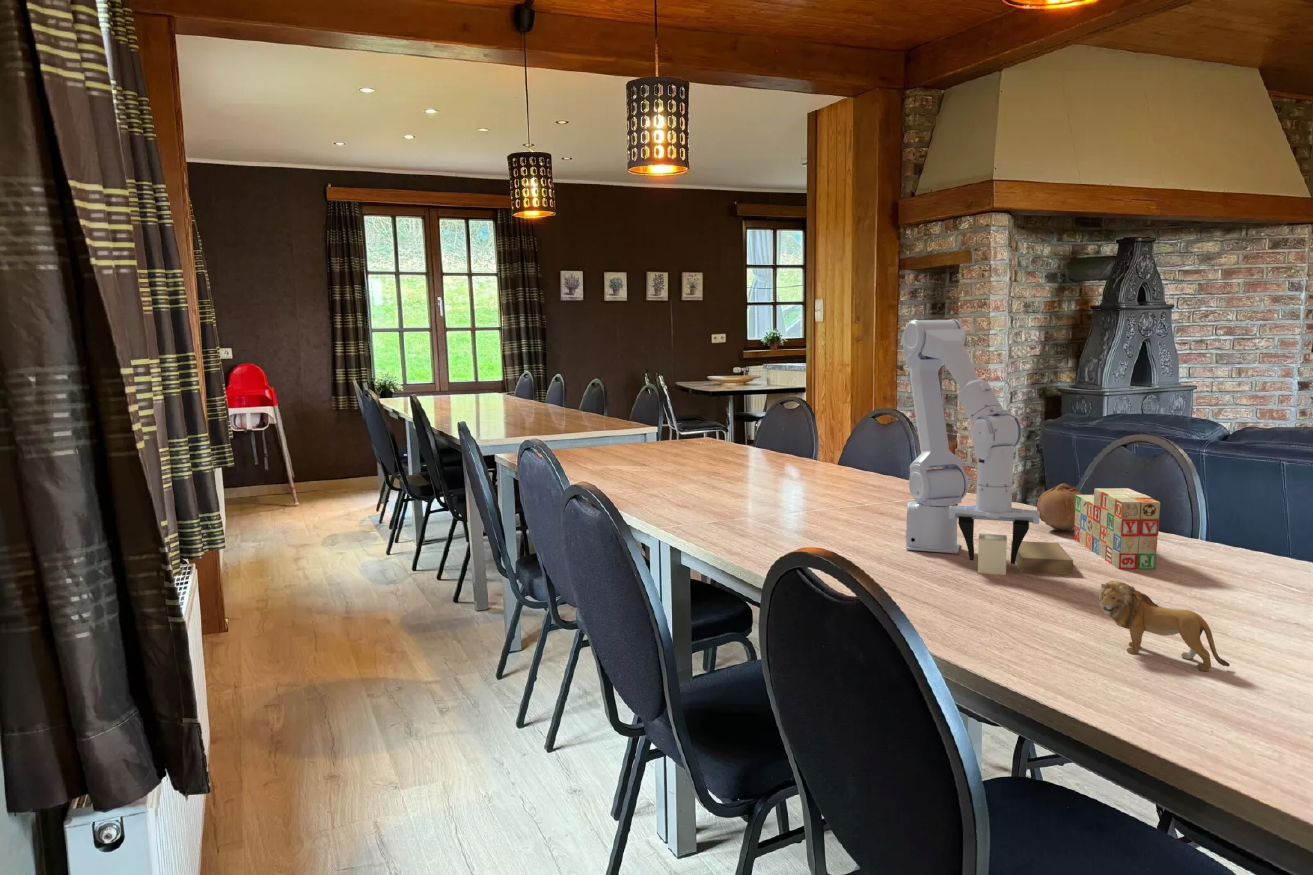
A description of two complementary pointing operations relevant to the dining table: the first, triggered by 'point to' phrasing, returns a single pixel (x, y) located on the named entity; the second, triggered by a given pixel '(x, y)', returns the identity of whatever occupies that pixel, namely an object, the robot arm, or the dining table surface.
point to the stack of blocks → (1119, 526)
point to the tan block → (1043, 558)
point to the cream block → (992, 554)
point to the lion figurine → (1156, 621)
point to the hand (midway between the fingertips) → (992, 560)
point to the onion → (1058, 507)
